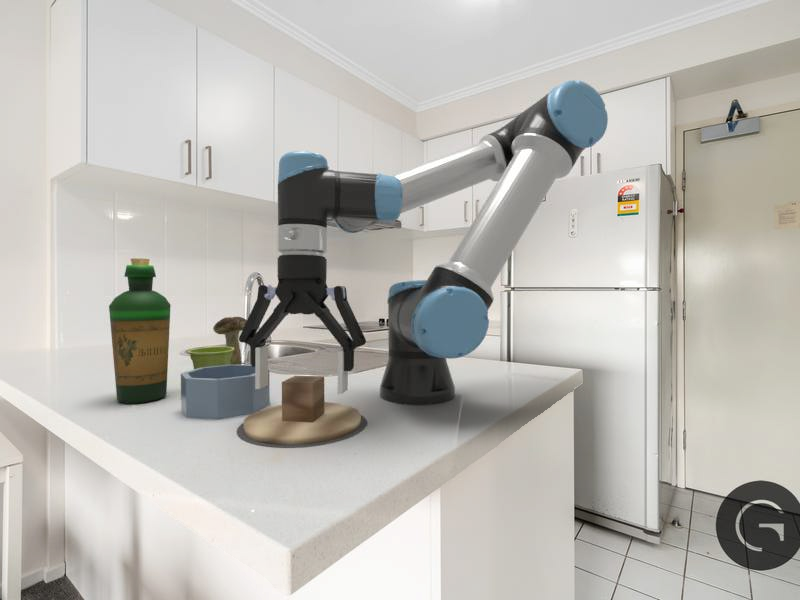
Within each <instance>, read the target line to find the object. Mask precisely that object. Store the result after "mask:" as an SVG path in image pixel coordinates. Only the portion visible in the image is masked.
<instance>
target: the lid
mask: <svg viewBox="0 0 800 600" xmlns="http://www.w3.org/2000/svg"><path fill="white" fill-rule="evenodd" d="M361 415H362V414H361V412H360V410H358V409H357V408H355V407H354V406H350V405H348V404H347V405H346V404H343V403H339V402H338V403H335V402H330V401H329V402H328V401H327V402H325V376H316V375H294V376H291V377H289V378H288V379H285V380H283V381H281V404H280V405H275V406H270V407H265V408H263V409H261V410H259V411H257V412H255V413H253V414H249V415H247V417H245V419H244V420H243V423H244V434H245V435H246V436H247V437H248V438H250V439H252V440H255V441H258V442H262V443H267V444H276V445H304V444H313V443H320V442H325V441H330V440H334V439H338V438H341V437H344V436H346V435H348V434H350V433H352V432H354V431H355V430H357V429H358V428H359V426H360V424H361Z"/></svg>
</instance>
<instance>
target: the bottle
mask: <svg viewBox="0 0 800 600" xmlns="http://www.w3.org/2000/svg"><path fill="white" fill-rule="evenodd" d="M130 262H131V264H126V266H125V270H124V271H125V272H124V276H123V277H124V278H127V284H128V290H126V291H123V292H122V293H120V294H119V295H118V296H116V297H114V298H113V300H112V301H111V302H110V304H109V305H108V311H109V321H110V322H109V324H110V333H111V344H112V345H111V346H112V354H113V356H112V357H113V368H114V378H115V379H114V380H115V381H114V382H115V392H116V400H117V401H118V402H120V403H123V404H130V405H131V404H146V403H149V402H150V403H152V402H154V401H158V400H161V399H163V398H164V397H166V396H167V389H168V388H167V387H168V372H169V371H168V365H169V346H170V326H171V325H170V323H171V307H172V306H171V303H170V301H169V300H168V299H167V298H166V297H165V296H164V295H163V294H161V293H159V292H158V291H155V290H153V284H154V283H153V281H154V278H157V274H156V270H155V267H154V265H149V264H150V259H149V258H130Z"/></svg>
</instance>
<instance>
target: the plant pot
mask: <svg viewBox="0 0 800 600" xmlns="http://www.w3.org/2000/svg"><path fill="white" fill-rule="evenodd" d="M233 351H234V348H233V347H226V346H208V347H207V346H206V347H205V346H204V347H198V348H192V349H190V350H189V349H188V350H187V353H188V354H189V357H190V359H191V362H192V365H193V366H192V367H193V370H194V369H198V368H201V367H211V366H221V365H230V360H231V357H232V352H233Z"/></svg>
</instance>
